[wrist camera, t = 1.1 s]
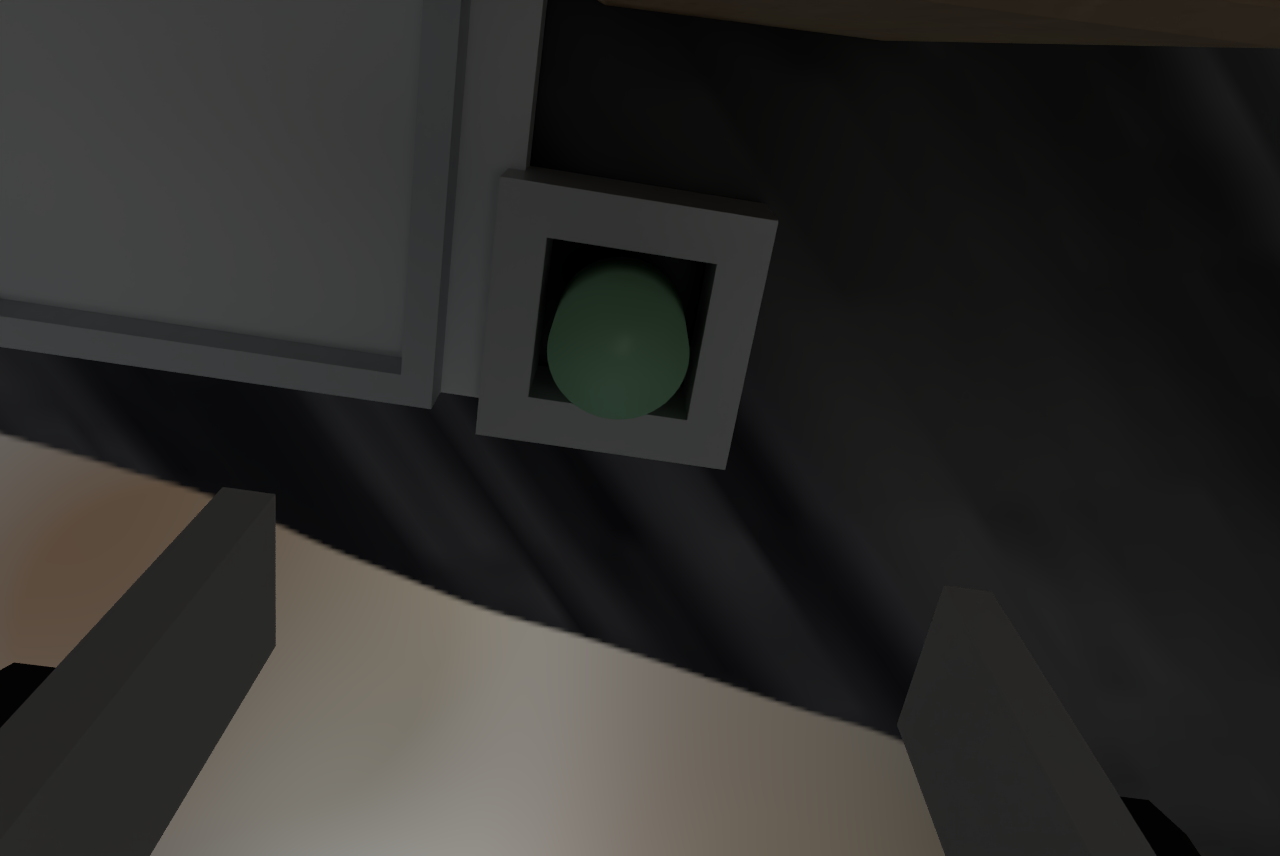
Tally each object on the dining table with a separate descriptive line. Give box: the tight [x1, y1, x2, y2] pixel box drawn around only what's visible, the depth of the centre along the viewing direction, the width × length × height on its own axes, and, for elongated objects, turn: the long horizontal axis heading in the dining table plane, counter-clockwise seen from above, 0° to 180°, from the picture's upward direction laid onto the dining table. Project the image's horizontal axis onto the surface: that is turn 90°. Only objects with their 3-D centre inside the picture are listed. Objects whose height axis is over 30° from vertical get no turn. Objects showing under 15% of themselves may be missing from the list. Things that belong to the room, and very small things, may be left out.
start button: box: [547, 256, 689, 420], centre depth 27 cm, size 4×4×3 cm
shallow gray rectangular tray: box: [0, 0, 547, 409], centre depth 27 cm, size 15×17×3 cm
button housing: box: [476, 166, 778, 470], centre depth 29 cm, size 8×8×3 cm
